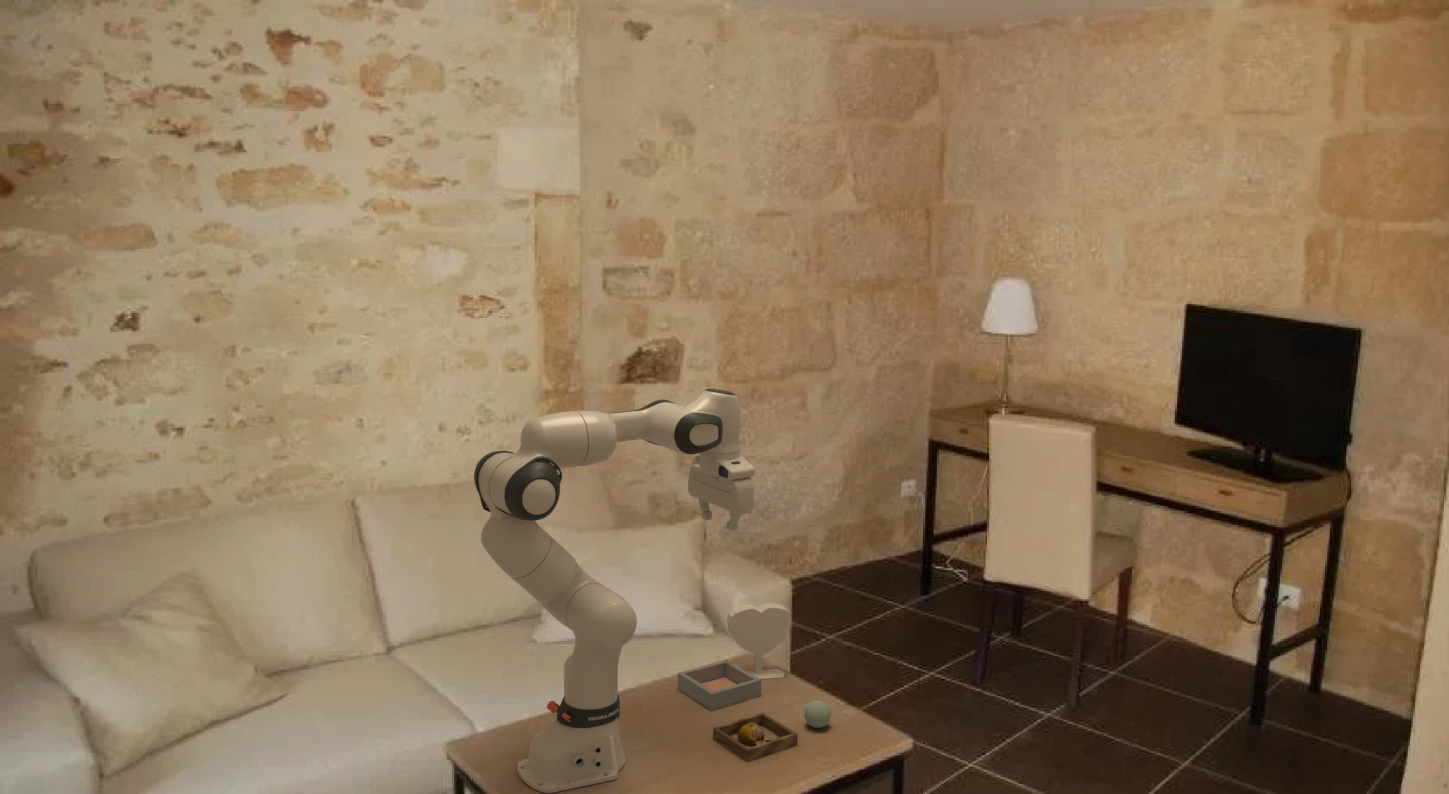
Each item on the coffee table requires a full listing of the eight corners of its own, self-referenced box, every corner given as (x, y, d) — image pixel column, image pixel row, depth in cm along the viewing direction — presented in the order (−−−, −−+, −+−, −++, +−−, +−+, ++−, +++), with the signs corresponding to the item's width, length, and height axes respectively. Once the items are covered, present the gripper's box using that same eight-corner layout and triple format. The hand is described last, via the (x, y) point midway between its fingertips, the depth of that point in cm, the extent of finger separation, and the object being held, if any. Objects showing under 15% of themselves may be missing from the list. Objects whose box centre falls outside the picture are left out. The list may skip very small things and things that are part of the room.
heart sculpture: (785, 668, 285) (787, 600, 282) (790, 676, 280) (792, 607, 277) (725, 672, 281) (726, 604, 278) (729, 681, 277) (730, 611, 274)
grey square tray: (711, 710, 260) (711, 694, 260) (677, 688, 272) (677, 673, 271) (761, 695, 269) (761, 680, 268) (726, 675, 280) (726, 659, 279)
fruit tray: (747, 761, 237) (747, 750, 236) (713, 738, 247) (713, 728, 246) (797, 744, 244) (797, 734, 244) (762, 722, 255) (762, 712, 254)
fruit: (766, 754, 241) (766, 738, 240) (730, 746, 244) (731, 730, 243) (780, 738, 248) (780, 722, 247) (746, 730, 251) (746, 715, 251)
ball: (815, 735, 249) (816, 709, 248) (798, 724, 254) (799, 700, 253) (835, 728, 252) (836, 703, 251) (818, 718, 257) (819, 693, 256)
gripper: (681, 455, 249) (681, 515, 252) (735, 474, 233) (734, 538, 235) (704, 452, 253) (704, 511, 255) (759, 470, 237) (758, 533, 239)
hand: (719, 524), depth 245 cm, fingers open, 8 cm apart
